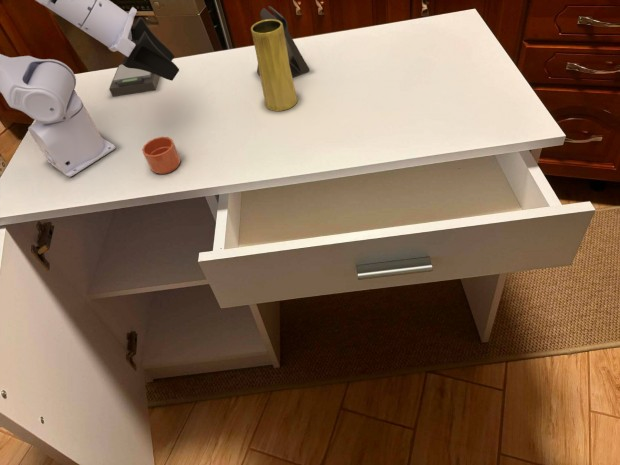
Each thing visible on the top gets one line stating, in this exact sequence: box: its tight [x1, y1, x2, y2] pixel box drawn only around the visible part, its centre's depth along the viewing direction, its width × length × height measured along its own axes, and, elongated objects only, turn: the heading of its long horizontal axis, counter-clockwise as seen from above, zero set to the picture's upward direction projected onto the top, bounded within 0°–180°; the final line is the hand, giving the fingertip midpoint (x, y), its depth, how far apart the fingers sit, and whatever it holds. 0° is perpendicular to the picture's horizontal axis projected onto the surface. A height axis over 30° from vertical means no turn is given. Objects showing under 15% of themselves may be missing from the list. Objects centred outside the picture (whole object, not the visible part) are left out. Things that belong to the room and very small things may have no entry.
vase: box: [250, 19, 299, 112], centre depth 83 cm, size 6×6×14 cm
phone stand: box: [256, 5, 310, 79], centre depth 91 cm, size 9×6×12 cm, turn 115°
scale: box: [108, 63, 160, 97], centre depth 99 cm, size 9×9×3 cm
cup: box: [141, 136, 181, 175], centre depth 78 cm, size 5×5×4 cm
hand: (173, 67), depth 76 cm, fingers open, 7 cm apart
